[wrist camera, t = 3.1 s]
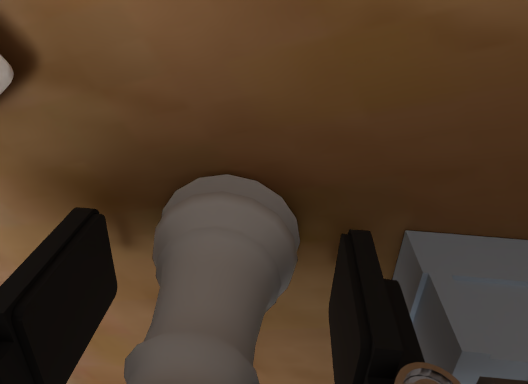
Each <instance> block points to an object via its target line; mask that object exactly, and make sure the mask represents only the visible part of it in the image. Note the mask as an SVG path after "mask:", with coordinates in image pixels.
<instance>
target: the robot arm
mask: <svg viewBox="0 0 528 384" xmlns="http://www.w3.org/2000/svg"><path fill="white" fill-rule="evenodd" d="M116 292H117V280H116V275H115V269H114V264H113V259H112V253H111V248H110V242H109V237H108V231H107V226H106V221H105V217H104V215H102V214H99V211H98V210H97V209H90V208H74V209H73V210H72V211H71V212H70V213H69V214H68V215H67V216H66V217H65V219H64V220H63V221H62V222H61V223H60V224H59V225H58V226H57V227H56V228H55V229H54V230H53V231H52V232H51V233H50V234H49V235H48V236H47V238H46V239H45V240H44V241H43V242H42V243H41V244H40V245H39V246H38V247H37V248H36V249H35V250H34V251H33V252H32V253H31V254H30V256H29V257H28V258H27V259H26V260H25V261H24V262H23V263H22V264H21V265H20V266H19V267H18V268H17V269H16V270H15V271H14V272H13V274H12V275H11V276H10V277H9V278H8V279H7V280H6V281H5V282H4V283H3V284H2V285H1V286H0V384H66V383H67V381H68V379H69V377H70V376H71V374H72V372H73V370H74V369H75V367H76V365H77V363H78V361H79V360H80V358H81V356H82V354H83V353H84V351H85V349H86V347H87V345H88V344H89V342H90V340H91V338H92V337H93V335H94V333H95V331H96V329H97V328H98V326H99V324H100V322H101V321H102V319H103V317H104V315H105V314H106V312H107V310H108V308H109V306H110V305H111V303H112V301H113V299H114V298H115V295H116ZM329 324H330V336H331V347H332V358H333V369H334V381H335V384H461V383H460V382H459V381H458V380H457V379H456V378H455V377H454V376H453V375H451V374H450V373H449V372H448V371H446V370H444V369H442V368H440V367H439V366H436V365H433V364H430V363H425V360H424V357H423V354H422V351H421V348H420V345H419V342H418V339H417V336H416V333H415V330H414V326H413V323H412V320H411V317H410V314H409V311H408V308H407V305H406V302H405V299H404V296H403V293H402V289H401V286H400V284H399V282H398V281H397V280H390V279H383V275H382V272H381V268H380V264H379V261H378V257H377V254H376V250H375V246H374V243H373V239H372V235H371V232H370V231H364V230H351V229H350V230H349V232H348V234H342V235H341V238H340V244H339V250H338V256H337V261H336V267H335V273H334V279H333V284H332V290H331V296H330V302H329Z"/></svg>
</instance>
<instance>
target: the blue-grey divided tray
mask: <svg viewBox="0 0 528 384" xmlns="http://www.w3.org/2000/svg"><path fill="white" fill-rule="evenodd" d="M392 280H397V281H398V282H399V284H400V286H401V289H402V293H403V296H404V299H405V302H406V305H407V308H408V311H409V314H410V317H411V320H412V323H413V326H414V330H415V333H416V336H417V339H418V342H419V345H420V348H421V351H422V354H423V357H424V360H425V363H430V364H433V365H436V366H439V367H440V368H442V369H444V370H446V371H448V372H449V373H450V374H451V375H453V376H454V377H455V378H456V379H457V380H458V381H459V382H460V383H461V384H528V240H520V239H508V238H495V237H483V236H471V235H458V234H446V233H433V232H421V231H408V230H405V234H404V238H403V241H402V245H401V249H400V252H399V256H398V260H397V264H396V267H395V271H394V275H393V278H392Z"/></svg>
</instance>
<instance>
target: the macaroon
mask: <svg viewBox="0 0 528 384" xmlns="http://www.w3.org/2000/svg"><path fill="white" fill-rule="evenodd" d="M13 76H14V72H13V70H12V67H11V65H10V64H9V63H8V62H7V61H6V60H5V59H4V58H3V57H2V56H1V54H0V94H1V93H2V92H3V91H4V90H5V89H6V88H7V87H8V85H9V84H10V83H11V81H12V79H13Z"/></svg>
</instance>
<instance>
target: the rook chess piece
mask: <svg viewBox="0 0 528 384" xmlns="http://www.w3.org/2000/svg"><path fill="white" fill-rule="evenodd" d="M299 244H300V238H299V232H298V225H297V219H296V217H295V216H294V214H293V213H292V212H291V210H290V209H289V207H288V206H287V204H286V203H285V201H284V200H283V198H282V197H281V196H279V195H278V194H276V193H275V192H273V191H272V190H270V189H268V188H267V187H265V186H264V185H262V184H261V183H259V182H258V181H255V180H250V179H246V178H242V177H238V176H233V175H229V174H225V175H217V176H209V177H201V178H198V179H196V180H194V181H192V182H191V183H189V184H187V185H185V186H183V187H182V188H180V189H178V190H176V191H175V193H174V194H173V196H172V197H171V199H170V200H169V201H168V203H167V204H166V206H165V207H164V209H163V210H162V218H161V220H160V222H159V223H158V225H157V226H156V228H155V238H154V247H153V261H154V263H155V266H156V278H157V280H158V283H159V285H160V290H159V294H158V298H157V303H156V307H155V311H154V315H153V319H152V323H151V326H150V328H149V330H148V333H147V335H146V338H145V340H144V342H142V343H140V344H138V345H137V346H136V347H135V348H134V349H133V350H132V352H131V353H130V354H129V355H128V356H127V358H126V359H125V369H124V378H125V380H126V383H127V384H259V381H258V377H257V374H256V370H255V369H254V368H253V360H254V352H255V344H256V341H257V337H258V334H259V330H260V327H261V323H262V320H263V316H264V314H265V312H266V311H267V310H268V309H269V308H271V307H272V306H273V305H274V304H275V303H276V300H277V298H278V297H279V296H280V295H281V294H282V293H283V292H284V291H285V290H286V289H287V287H288V285H289V283H290V281H291V278H292V275H293V272H294V269H295V266H296V263H297V261H298V258H297V250H298V247H299Z"/></svg>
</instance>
